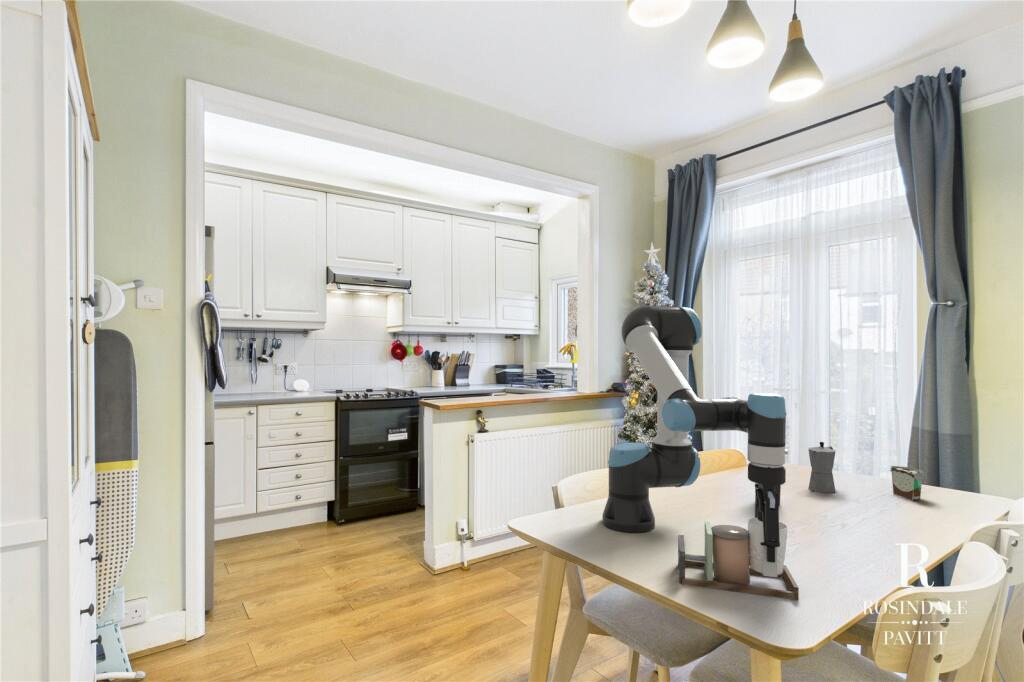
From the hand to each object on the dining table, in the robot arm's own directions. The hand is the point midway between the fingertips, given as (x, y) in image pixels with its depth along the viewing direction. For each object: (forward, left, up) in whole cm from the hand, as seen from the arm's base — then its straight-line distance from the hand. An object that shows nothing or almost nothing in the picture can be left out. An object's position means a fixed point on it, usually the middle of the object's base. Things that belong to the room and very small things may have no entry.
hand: (766, 567), depth 113 cm
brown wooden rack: (-7, 0, -4) cm, 8 cm away
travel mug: (+12, +68, -4) cm, 69 cm away
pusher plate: (-14, 0, -4) cm, 15 cm away
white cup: (0, 0, 0) cm, 0 cm away
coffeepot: (+36, +95, -4) cm, 102 cm away
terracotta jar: (-7, 0, -3) cm, 8 cm away
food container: (+63, +93, -4) cm, 112 cm away
